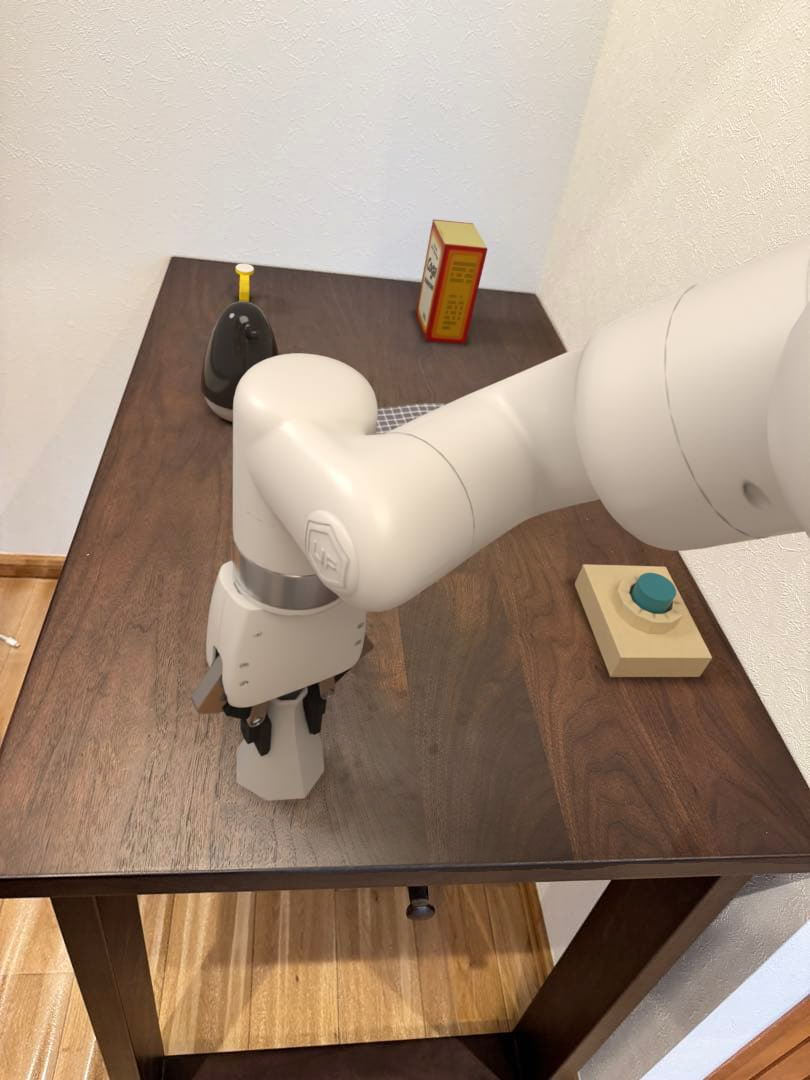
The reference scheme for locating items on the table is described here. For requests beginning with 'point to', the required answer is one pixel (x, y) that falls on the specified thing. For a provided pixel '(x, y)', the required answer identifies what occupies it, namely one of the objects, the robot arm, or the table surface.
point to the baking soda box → (450, 281)
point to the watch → (244, 280)
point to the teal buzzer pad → (639, 626)
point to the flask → (283, 753)
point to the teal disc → (653, 593)
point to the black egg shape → (234, 353)
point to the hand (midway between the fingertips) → (282, 728)
